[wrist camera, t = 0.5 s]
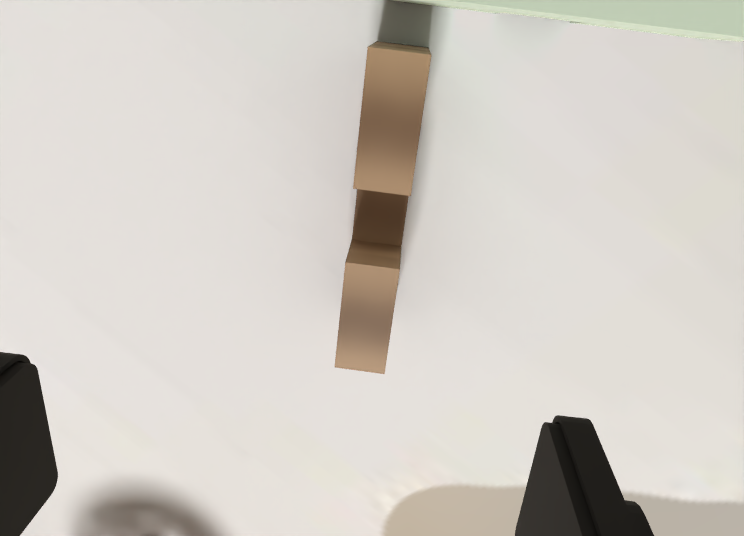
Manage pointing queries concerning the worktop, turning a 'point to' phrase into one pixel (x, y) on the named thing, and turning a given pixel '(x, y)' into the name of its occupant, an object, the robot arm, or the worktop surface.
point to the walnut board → (381, 200)
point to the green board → (625, 14)
